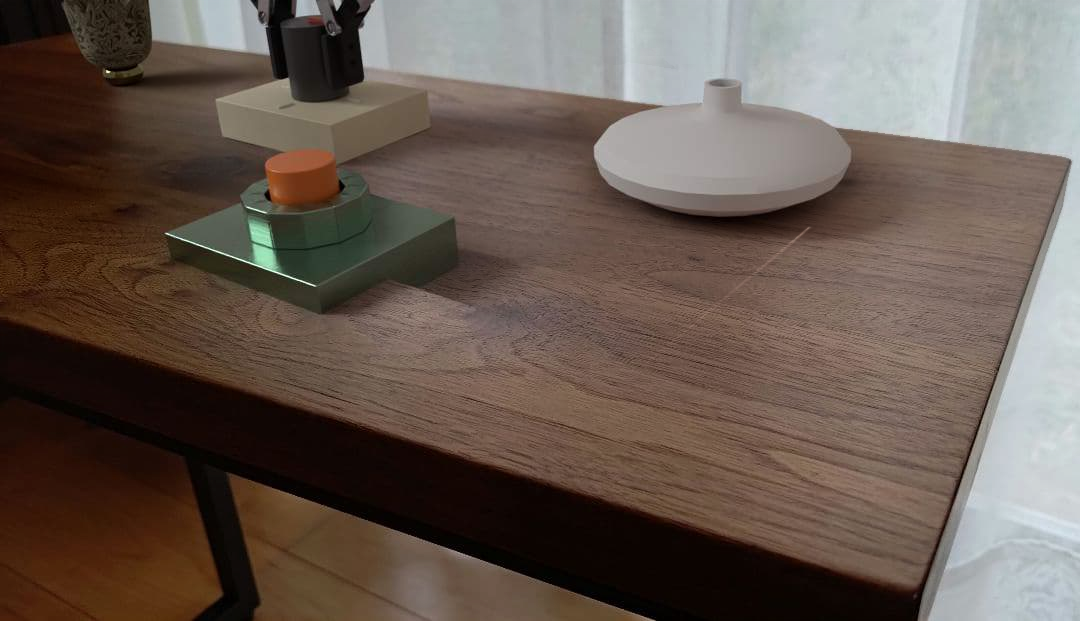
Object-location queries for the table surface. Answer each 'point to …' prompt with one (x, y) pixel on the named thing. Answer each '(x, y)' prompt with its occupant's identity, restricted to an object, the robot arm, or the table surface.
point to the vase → (722, 155)
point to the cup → (112, 36)
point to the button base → (319, 244)
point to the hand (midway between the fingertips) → (318, 78)
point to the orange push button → (302, 177)
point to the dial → (307, 59)
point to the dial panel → (325, 118)
